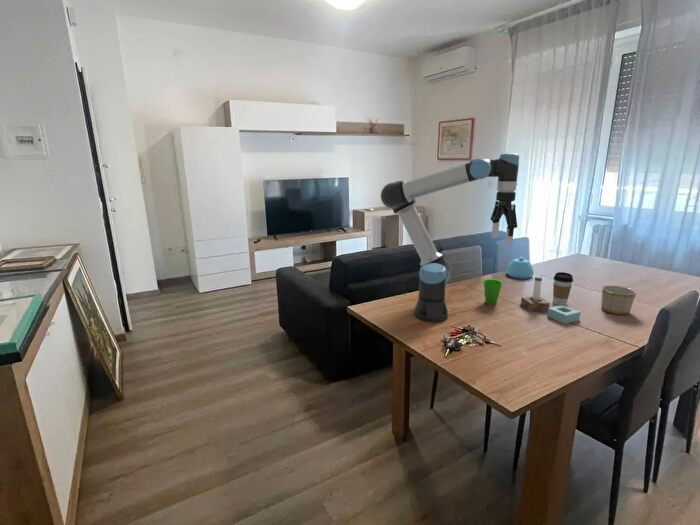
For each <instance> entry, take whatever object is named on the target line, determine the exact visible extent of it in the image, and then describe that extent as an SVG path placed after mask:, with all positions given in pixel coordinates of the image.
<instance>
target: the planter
mask: <svg viewBox="0 0 700 525" xmlns="http://www.w3.org/2000/svg"><path fill="white" fill-rule="evenodd" d="M601 292H602V294H601V303H600V304H601V309H602V310H603V311H604V312H606V313H608V312H609V313H608V314H612V313H613V315H617V314H620V315H619V316H624V314H626V315H628V314H630V312H631V310H632V306H633V304H634V300H635V298H636V293H637V291H636V290H634V289H632V288H629V287H624V286H621V285H612V284H611V285H603V287H602V291H601Z"/></svg>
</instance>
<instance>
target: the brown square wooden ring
mask: <svg viewBox="0 0 700 525" xmlns="http://www.w3.org/2000/svg"><path fill="white" fill-rule="evenodd" d="M532 297H533V295H532V296H521V300H520V305H521V307H524V308H525V309H526V310H527V311H529V312H548V308H551V307H550V304H551V302H549V301H547V300H546V299H544V298H543V297H542V296H540V298H539V302H533V301H532Z"/></svg>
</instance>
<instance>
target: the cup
mask: <svg viewBox="0 0 700 525" xmlns="http://www.w3.org/2000/svg"><path fill="white" fill-rule="evenodd" d="M482 282H483V285H484V286H483V287H484V300H485V304H487V305H493V306H494V305H496V304H497V302H498V300H499V295H500V292H501V288H502V285H503V281H501V280H499V279H493V278H487V279H484V280H482Z"/></svg>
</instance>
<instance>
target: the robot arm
mask: <svg viewBox="0 0 700 525" xmlns="http://www.w3.org/2000/svg"><path fill="white" fill-rule="evenodd" d="M519 166H520V155H519V154H518V153H501V154H500V156H499V158H473V159H470V161H469V162H467V163H463V164H461V165H458V166H454V167H451V168H447V169H445V170H441V171H438V172H435V173H431V174H428V175H426V176H422V177H420V178H419V177H418V178H416V179H413V180H410V181H406V180H397V181H394V182H389V183H387V184H385V186H384V187H383V188H382V189H381V192H380V201H381V202H382V204H383V206H385V207H386V208H388V209H391V210H392V211H393V214H394V215H396V216H399V218H400V220H401V222H402V224H403V226H404V227H405V230H406V232H407V234H408V236H409V238H410V240H411V242H412V245H413V246H414V248H415V250H416V252H417V254H418V256H419V258H420V263H419V266H420V268H419V274H418V277H419V278H418V282H419V283H418V299H417V302H416V305H415V308H414V310H413V311H414V312H413V315H414V317H415V318H416V319H418V320H420V321H424V322H427V323H428V322H429V323H438V322H439V323H440V322H444V321H446V320H447V319H448V316H449V315H448V314H449V311H448V307H447V305H446V298H445V297H446V287H447V286H446V285H447V283H448V282H449V280H450V279H451V277H452V272H453V270H452V266H451V264H450V263H449V261H448V260H446V259H445V257H444V255H443V253H440V252H438V250H437V248H436V246H435V244H434V242H433V240H432V237H431V235H430V234H429V231H428V230H427V228H426V226H425V223H424V222H423V219H422V218H421V216H420V215H421V214H420V213H419V212H418V210H417V204H418V203H417V200H416V199H417V198H420V197H424V196H427V195H430V194H434V193H437V192H441V191H444V190H447V189H451V188H455V187H457V186H461V185H464V184H468V183H471V182H474V181H478V180H482V179H485V178H492V177H493V178H497V183H496V184H497V185H496V190H497V192H496V197H495V200H496V201H495V202H494V207H493V211H492V214H491V217H490V221H491V222H492V228H491V238H499V231H500V222H501V221H500V220H501V219H502V216H504V217H505V222H506V225H507V226H506V232H505V240H504V241H505V243H504V244H506V245H509V244H511V245H512V244H513V240H514V229H516V228H518V222H517V219H518V218H517V212H516V204H512V202H514V201H515V200H516V195H517V194H516V193H517V192H516V191H517V186H518V183H517V182H518V177H519V176H518V175H519Z"/></svg>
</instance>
